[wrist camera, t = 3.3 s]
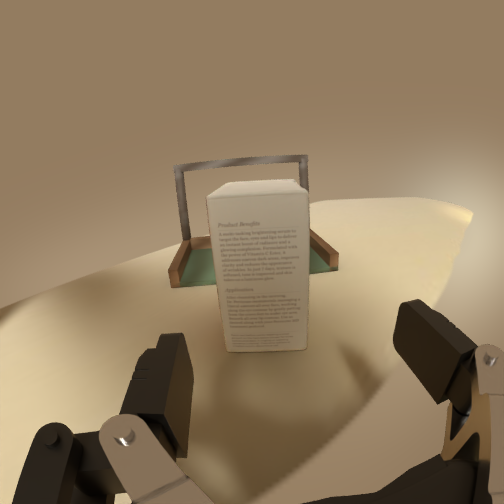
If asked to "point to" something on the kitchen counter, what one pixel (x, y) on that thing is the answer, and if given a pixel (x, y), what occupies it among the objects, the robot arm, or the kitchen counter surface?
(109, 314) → the kitchen counter surface
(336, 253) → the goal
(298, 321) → the small box
